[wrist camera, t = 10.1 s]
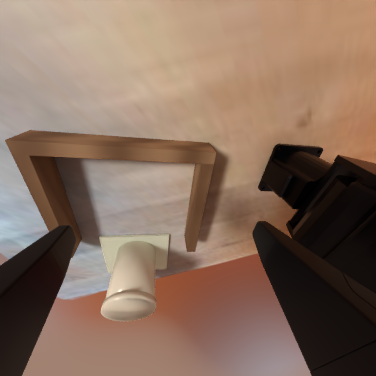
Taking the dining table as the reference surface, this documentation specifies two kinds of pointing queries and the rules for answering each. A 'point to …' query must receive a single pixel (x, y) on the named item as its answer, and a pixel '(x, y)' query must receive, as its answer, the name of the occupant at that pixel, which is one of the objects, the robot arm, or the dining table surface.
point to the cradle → (104, 149)
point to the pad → (114, 242)
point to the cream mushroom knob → (131, 283)
